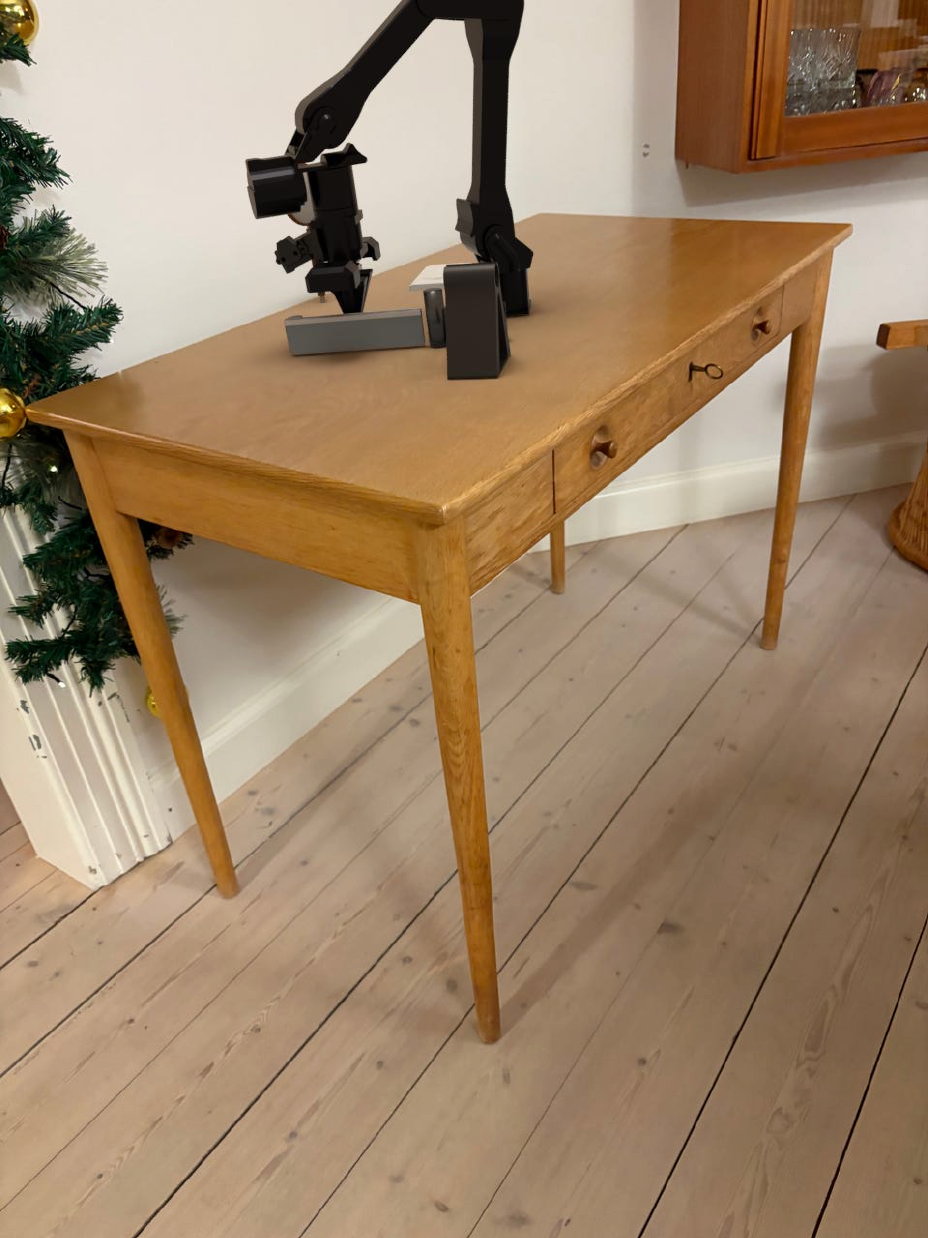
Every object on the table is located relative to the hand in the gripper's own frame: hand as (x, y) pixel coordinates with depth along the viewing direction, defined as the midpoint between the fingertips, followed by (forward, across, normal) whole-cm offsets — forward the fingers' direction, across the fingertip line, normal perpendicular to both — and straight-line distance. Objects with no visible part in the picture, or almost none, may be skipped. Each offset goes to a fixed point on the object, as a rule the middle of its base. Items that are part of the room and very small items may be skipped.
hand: (355, 329), depth 133 cm
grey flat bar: (+1, +5, +1) cm, 5 cm away
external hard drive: (+2, -31, +8) cm, 32 cm away
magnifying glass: (+2, -23, -10) cm, 25 cm away
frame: (+2, +4, +7) cm, 8 cm away
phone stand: (+2, +15, +18) cm, 24 cm away
